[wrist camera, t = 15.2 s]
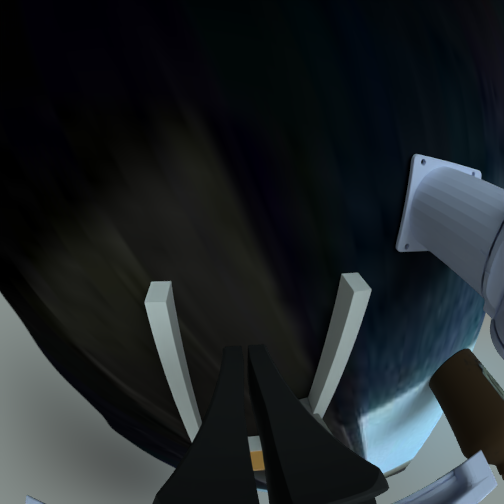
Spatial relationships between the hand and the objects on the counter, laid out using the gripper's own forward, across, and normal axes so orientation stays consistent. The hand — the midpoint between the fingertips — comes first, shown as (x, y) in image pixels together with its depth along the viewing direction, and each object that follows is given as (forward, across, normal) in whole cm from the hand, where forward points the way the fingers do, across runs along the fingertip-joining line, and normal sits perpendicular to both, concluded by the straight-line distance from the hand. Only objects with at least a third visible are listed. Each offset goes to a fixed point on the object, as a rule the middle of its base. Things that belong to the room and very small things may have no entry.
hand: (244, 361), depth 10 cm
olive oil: (+10, -36, +23) cm, 44 cm away
